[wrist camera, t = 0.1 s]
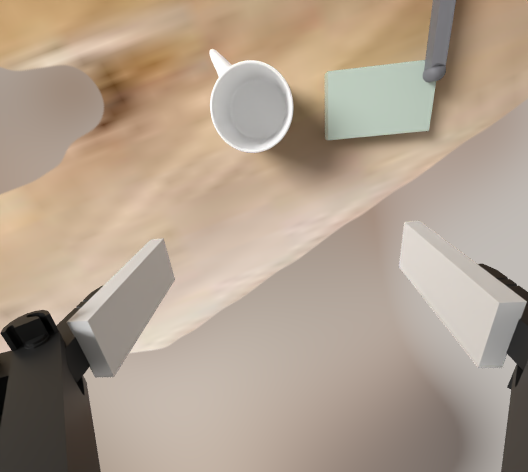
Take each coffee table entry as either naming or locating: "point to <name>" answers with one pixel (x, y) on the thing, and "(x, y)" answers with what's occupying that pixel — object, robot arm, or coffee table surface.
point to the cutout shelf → (389, 89)
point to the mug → (250, 104)
